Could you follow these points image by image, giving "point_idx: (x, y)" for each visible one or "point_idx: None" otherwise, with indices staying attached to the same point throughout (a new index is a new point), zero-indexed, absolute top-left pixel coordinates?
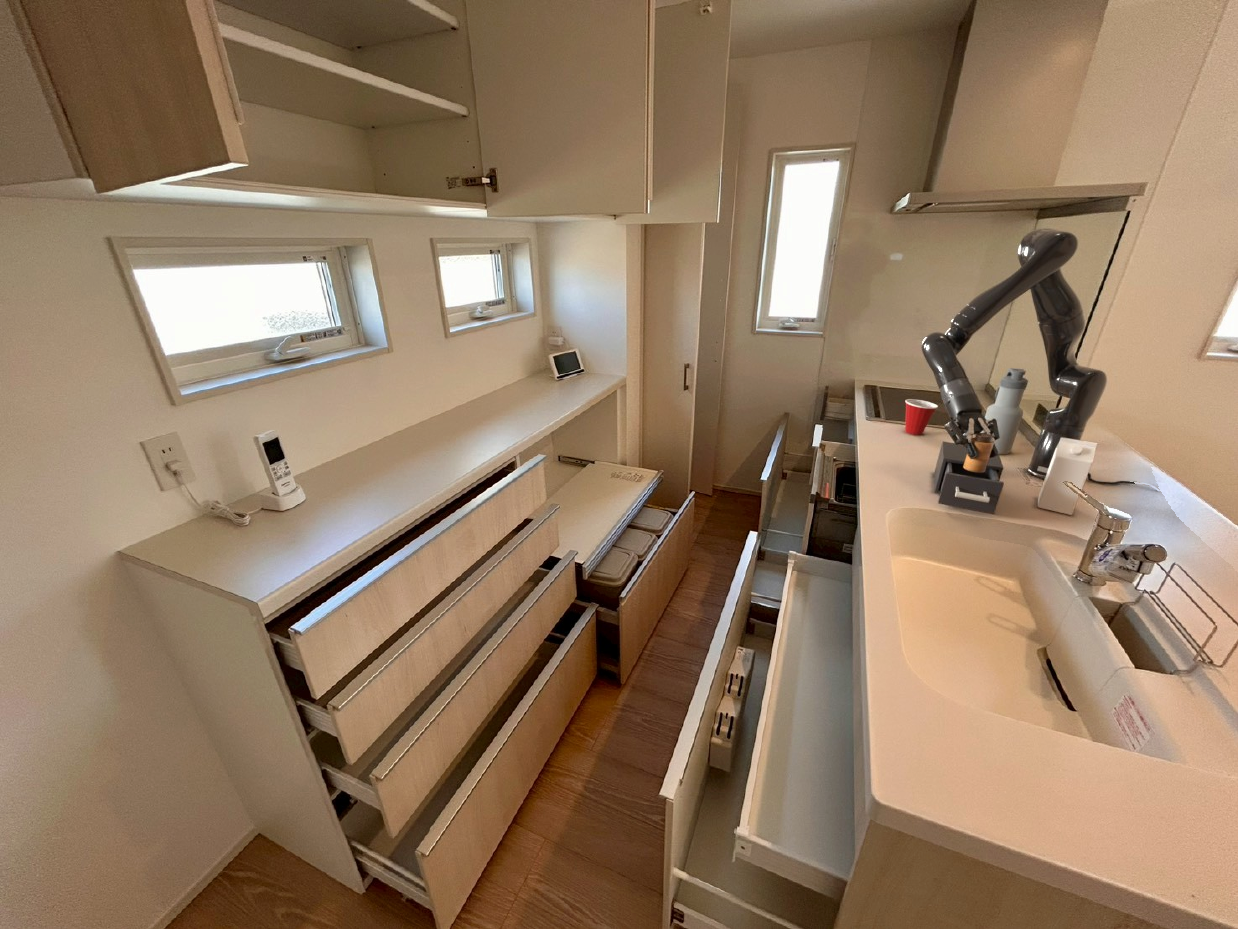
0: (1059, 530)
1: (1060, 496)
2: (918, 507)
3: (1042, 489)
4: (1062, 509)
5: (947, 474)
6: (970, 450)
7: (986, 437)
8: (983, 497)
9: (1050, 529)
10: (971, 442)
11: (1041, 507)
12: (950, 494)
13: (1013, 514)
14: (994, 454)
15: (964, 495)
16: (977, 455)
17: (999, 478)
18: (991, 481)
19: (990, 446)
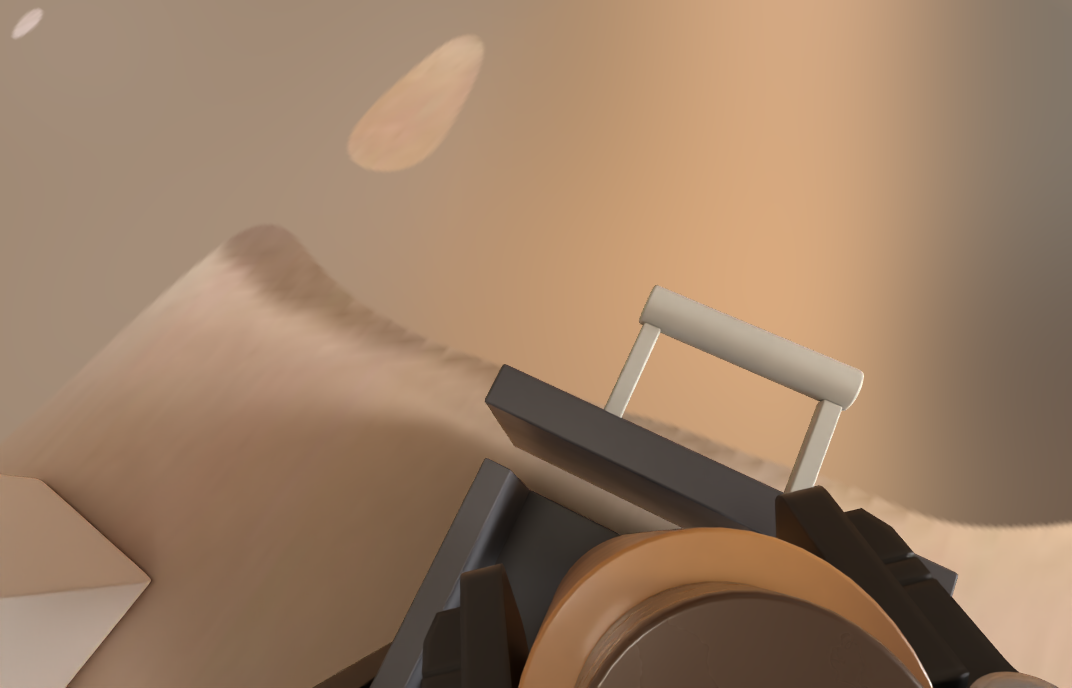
0: (259, 300)
1: (3, 521)
2: (951, 538)
3: (17, 657)
4: (53, 505)
5: (941, 568)
6: (927, 570)
7: (799, 598)
8: (691, 301)
9: (298, 307)
10: (989, 680)
11: (135, 567)
12: None
13: (373, 474)
14: (504, 580)
15: (807, 348)
16: (810, 487)
17: (344, 672)
18: (587, 404)
19: (640, 539)
